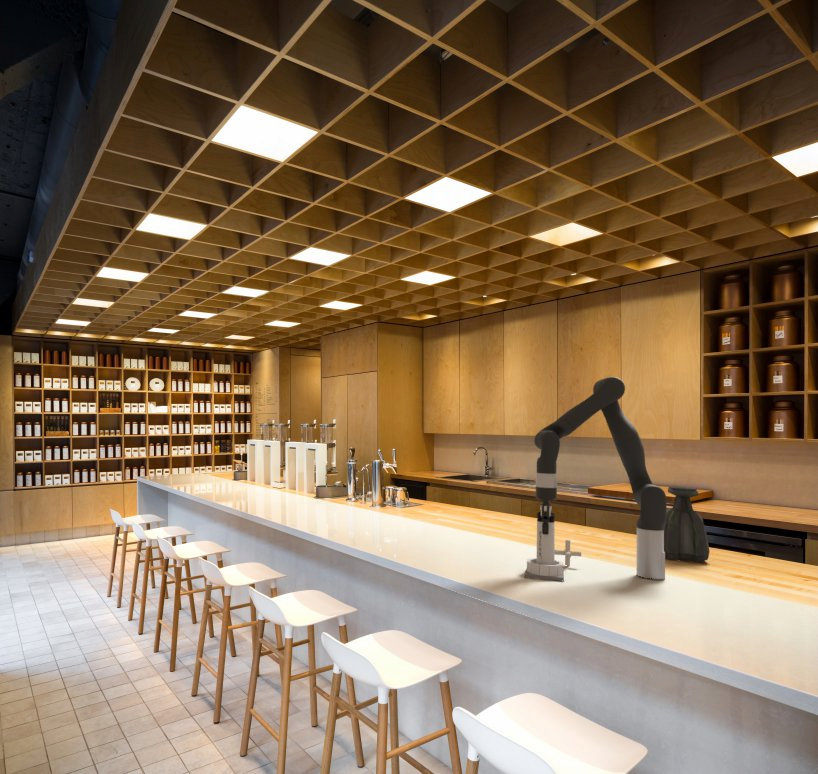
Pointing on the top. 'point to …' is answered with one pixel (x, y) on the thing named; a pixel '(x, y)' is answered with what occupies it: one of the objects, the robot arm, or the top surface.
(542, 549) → the travel mug
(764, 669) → the top surface
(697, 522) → the dark grey ribbed vase
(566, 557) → the pipe connector
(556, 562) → the duct collar
